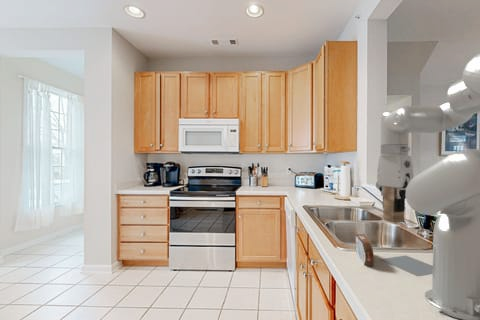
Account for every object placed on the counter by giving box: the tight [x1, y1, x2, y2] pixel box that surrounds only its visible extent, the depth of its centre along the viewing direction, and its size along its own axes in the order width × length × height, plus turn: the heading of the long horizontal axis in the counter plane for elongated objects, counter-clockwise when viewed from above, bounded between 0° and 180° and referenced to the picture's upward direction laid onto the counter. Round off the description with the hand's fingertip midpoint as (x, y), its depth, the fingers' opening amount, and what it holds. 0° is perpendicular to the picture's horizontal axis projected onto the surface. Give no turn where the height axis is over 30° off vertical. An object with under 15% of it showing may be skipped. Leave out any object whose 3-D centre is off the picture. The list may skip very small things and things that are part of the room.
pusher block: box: [382, 186, 405, 224], centre depth 85 cm, size 4×4×14 cm
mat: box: [379, 255, 433, 277], centre depth 89 cm, size 14×12×1 cm
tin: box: [355, 233, 375, 267], centre depth 93 cm, size 15×3×8 cm, turn 168°
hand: (393, 209), depth 85 cm, fingers closed on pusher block, 4 cm apart
